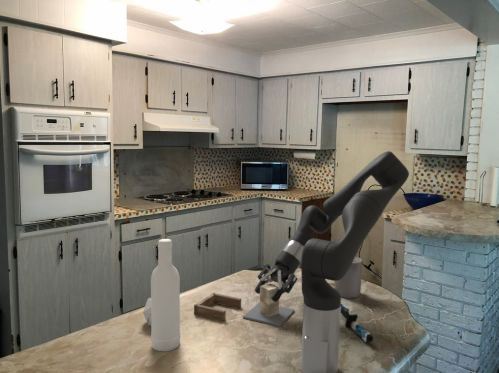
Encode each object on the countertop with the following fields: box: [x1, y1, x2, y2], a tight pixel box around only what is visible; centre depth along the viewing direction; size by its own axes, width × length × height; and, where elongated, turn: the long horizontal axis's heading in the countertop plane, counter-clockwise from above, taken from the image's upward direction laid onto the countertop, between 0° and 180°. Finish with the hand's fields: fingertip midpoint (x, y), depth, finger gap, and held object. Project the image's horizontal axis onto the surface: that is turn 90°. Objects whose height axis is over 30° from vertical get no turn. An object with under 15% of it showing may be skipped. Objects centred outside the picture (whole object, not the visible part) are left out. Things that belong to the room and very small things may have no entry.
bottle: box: [150, 238, 181, 352], centre depth 115 cm, size 8×8×30 cm
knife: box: [340, 303, 374, 343], centre depth 132 cm, size 31×3×4 cm, turn 11°
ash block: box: [259, 282, 280, 317], centre depth 137 cm, size 4×4×9 cm
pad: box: [242, 301, 295, 327], centre depth 138 cm, size 13×13×1 cm
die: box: [142, 297, 151, 327], centre depth 130 cm, size 8×9×10 cm
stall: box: [193, 292, 242, 322], centre depth 140 cm, size 12×11×3 cm
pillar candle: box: [333, 255, 363, 299], centre depth 157 cm, size 10×10×15 cm
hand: (264, 296), depth 136 cm, fingers open, 8 cm apart
